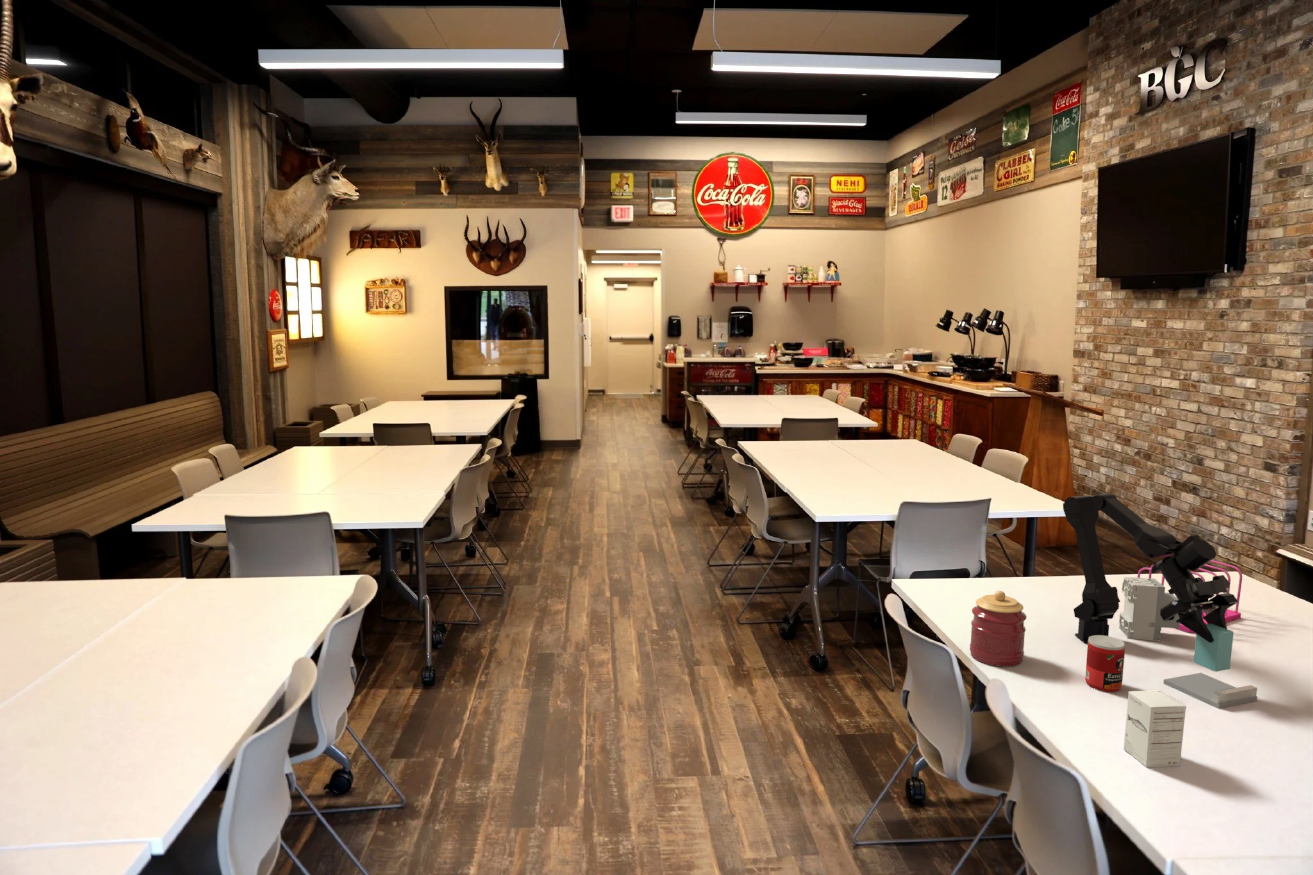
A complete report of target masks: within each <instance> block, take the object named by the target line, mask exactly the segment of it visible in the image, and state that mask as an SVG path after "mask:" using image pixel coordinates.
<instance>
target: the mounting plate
mask: <svg viewBox="0 0 1313 875" xmlns="http://www.w3.org/2000/svg"><path fill="white" fill-rule="evenodd" d="M1163 684H1164V685H1166V686H1168V687H1170V686H1171V688H1172V689H1175V690H1177V691H1179V692H1180V693H1184V694H1185V695H1188V696H1190V697H1192V698H1195V699H1198V700H1199V701H1202V702H1203V703H1206V704H1208V705H1210V706H1213V707H1215V708H1216V709H1224V708H1227V707H1233V706H1237V705H1243V704H1247V703H1252V702H1257V701H1258V696H1257V691H1258V687H1256V686H1254V685H1249V684H1248V685H1244V686H1240V687H1236V686H1233V685H1231V684H1229V683H1227V682H1224V681H1221V680H1219V679H1217V678H1216V677H1215V678H1214V677H1212V676H1209V675H1207V674H1205V673H1202V672H1197V673H1191V674H1185V675H1180V676H1175V677H1169V678H1164V679H1163Z"/></svg>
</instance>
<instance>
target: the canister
mask: <svg viewBox="0 0 1313 875" xmlns="http://www.w3.org/2000/svg"><path fill="white" fill-rule="evenodd" d="M975 604H976V605H975V606H974V607H972V609H971V613H972V614H973V619H972V620H971V622H970V623H971V630H970V634H971V635H970V643H969V651H970V656H971V657H972V658H973V659H974V660H976V661H978V662H981V663H983V664H986V665H991V666H994V667H995V666H996V667H1014V666H1015V667H1016V666H1019V665H1020V664H1022V663H1023V660H1024V657H1025V650H1024V648H1025V632H1026V631H1027V629H1026V627H1025V621H1026V620H1027V614H1026V613H1025V612H1024V611H1023V610H1024V605H1023V604H1022V603H1020V602H1019V601H1018V600H1017V599H1015V598H1013V597H1012V596H1011V597H1010V596H1007V595H1006V594H1005V592H1004V591H1002V590H997V591H996V592H995V593H994V594H986V595H984V596H983V595H982V597H979V598H977V599H976V600H975Z"/></svg>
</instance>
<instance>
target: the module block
mask: <svg viewBox="0 0 1313 875" xmlns="http://www.w3.org/2000/svg"><path fill="white" fill-rule="evenodd" d="M1206 626H1207V628H1208V629H1209V631H1210V633H1211V635H1212V637H1213V639H1214V641H1213V642H1212V643H1209V642H1208V641H1206V640H1205V639H1203V638H1202V637H1201V636H1199V635H1198V634H1196V633H1195V643H1194V653H1193V663H1194V664H1197V665H1199V666H1201V667H1203V668H1205V669H1208V670H1210V671H1212V672H1215V673H1216V672H1220V671H1221V672H1223V671H1227V670H1230V669H1231V660H1232V654H1233V653H1232V650H1233V642H1234V631H1233V630H1230V629H1228V628H1227V629H1225V628H1222V627H1219V626H1217V625H1214V624H1206Z"/></svg>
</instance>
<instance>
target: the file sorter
mask: <svg viewBox="0 0 1313 875" xmlns="http://www.w3.org/2000/svg"><path fill="white" fill-rule="evenodd" d="M1210 563H1215V564H1217V565H1222V566H1225V567H1229V568H1232V569H1235V570H1236V571H1237V572H1238V574H1239V575H1238V576H1239V580H1238V586H1237V596H1236V599H1237V601H1238V603H1236V604H1235V609H1234V610H1232V609H1229V608H1228V609H1226V612H1225V621H1226V623H1229V622H1232V621H1236V620H1239V619H1242V618H1241V617H1242V613H1241V612H1238V611H1239V606H1240V598H1241V591H1242V583H1243V573H1242V571H1241V570H1240V568H1238V567H1237V566H1234V565H1231V564H1229V563H1228V564H1227V563H1225V562H1221V561H1216V560H1214V559H1213V560H1211V561H1210ZM1152 566H1153V564H1152V565H1151V566H1150V567H1142V568H1140V569H1139V570H1138V572H1137V577H1136V578H1141V574H1142V572H1143V571H1144V570H1147V571H1148V578H1151V579H1152V574H1153V573H1152V572H1151V569H1152ZM1203 567H1207V568H1211V569H1214V570H1218V571H1221V572H1223V573H1225V575H1226V578H1227V580H1228V582H1229V583H1230V584H1231V581H1232V580H1231V576H1230V573H1229V572H1228V571H1227V570H1226V569H1225V568H1224V569H1223V568H1221V567H1219V566H1217V567H1216V566H1214V565H1209V564H1208V563H1207V564H1205V565H1204V566H1203ZM1190 571H1191V570H1190ZM1197 571H1202V572H1204V573H1208V574H1211V575H1212V576H1213V577H1214V576H1218V575H1217V574H1216V573H1215V572H1213V571H1210V570H1208V569H1204V568H1202V567H1201V568H1199V569H1198V570H1197ZM1158 573H1159V574H1161V583H1160V584H1162V585H1163V586H1164V585H1165V580H1166V579H1165V578H1164V576H1163V575H1162V573H1161V572H1158ZM1191 573H1192V574H1193V575H1194V576H1198V577H1200V578H1201V579H1202V580H1203V582H1206V579H1205V578H1204V576H1203V575H1202V574H1200V573H1198V572H1196V571H1191ZM1164 587H1165V586H1164ZM1230 588H1231V586H1230V587H1229V588H1227V591H1228V593H1230V591H1231V589H1230ZM1216 595H1218V594H1215V596H1216ZM1205 615H1206V614H1205V612H1204V611H1203V610H1202V619H1203V617H1204V616H1205ZM1203 621H1204V622H1205V624H1208V623H1207V622H1206V621H1205V620H1204V619H1203ZM1175 629H1176V630H1179V631H1183V632H1186V633H1189V634H1193V633H1194V632H1193V631H1192V630H1190V629H1189V628H1187V627H1185V626H1184V625H1182V624H1180V628H1179V629H1178V628H1175Z"/></svg>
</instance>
